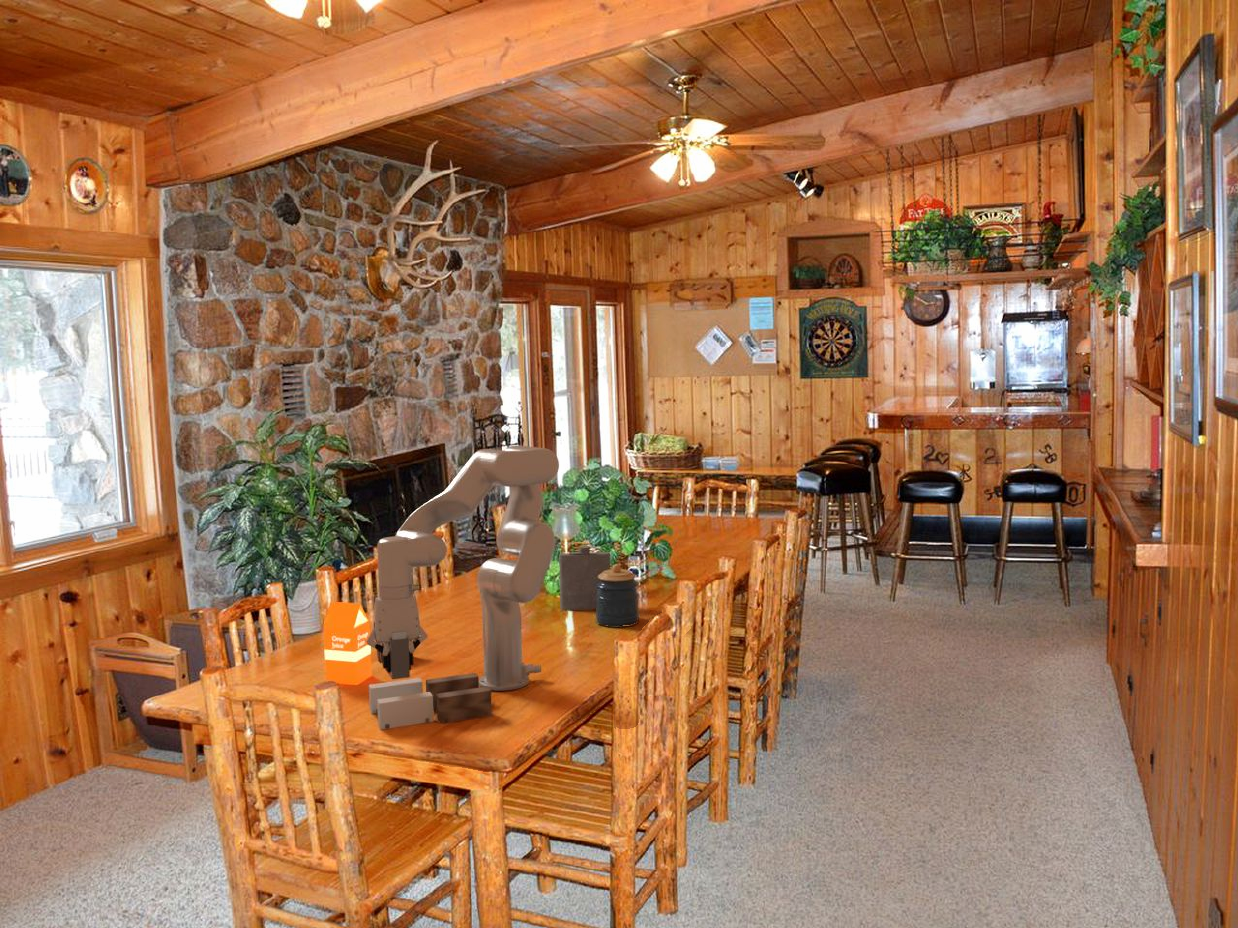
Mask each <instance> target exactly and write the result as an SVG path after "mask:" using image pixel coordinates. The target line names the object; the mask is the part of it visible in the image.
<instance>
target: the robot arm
mask: <svg viewBox="0 0 1238 928" xmlns="http://www.w3.org/2000/svg"><path fill="white" fill-rule="evenodd" d="M559 469H560V462H559V459H558V456H557V455H556V453H555V452H554V451H552V450H551V449H548V448H545V447H538V446H537V447H536V446H528V445H511V446H508V447H506V448H505V449H504V450H502V449H493V448H482V449H479V450H477V451H476V452H474V454H473V455H472V456H471V457H470V458H469V460H467V462H466V463H465V464H464V465H463V467H462V468H461V469H460V471H458V473H457V474H456V476H455V477H454V479H452V481H451V482H450V483H449V485H448V486H447V487H446V488H445V489H444V491H442V492H441V493H439V494H438V495H436V496H434V497H433V498H431V499H430V500H428V501H427V502H425V503H423V505H421V506H419V507H418V508H417V509H415V510H414V511H413V512H412V513H411V514H410V515H409V516H408V517H407V519H406V520H405V521H404V523H403V524H401V526H400V528H398V530H397V532H396V534H395V536H387V537H383V538H381V539H379V540H378V542H377V547H376V549H377V573H378V574H377V577H378V581H377V582H378V596H377V597H375V598H374V603H373V605H374V606H373V619H372V621H373V622H372V628H373V631H372V630H371V631H370V636H369V637H368V639H367V641H366V643H367V644H368V645H369V646H371V648H373V649H376V651H377V650H378V651H379V652H380V653H381V654H382V656H383V664H382V668H383V669H385V671H386V672H387V674H388V673H390V672H391V668H390V655H389V652H388V651H389V644H390V640H391V639H392V633H394V632H404V631H406V638H408V639H409V668H410V671H411V670H412V666H414V652H415V651H416V649H417V648H418V647H419V646H420V645H421V643H423V642H424V641H425V640H427V639H428V638H429V636H428V634H427V633H426V631H425V630H424V628H423V627H422V626H421V624H420V622H421V621H420V615H419V607H418V601H417V598H416V595H415V594H414V593H415V592H416V591H420V590H419V589H420V584H415V583H413V568H419V567H420V568H421V567H423V568H426V567H428V568H429V567H434V566H436V565H439V564H441V563H442V561H444V559H445V557H446V555H447V552H448V551H447V550H448V548H447V544H446V542H445V541H444V540H443V539H442V538H441V537H440V536H439V535H436V534H433V532H435V530H437V529H438V528H440V527H442V526H443V525H446V524H448V523H451V522H454V521H458V520H461V519H464V518H465V517H469V516H470V515H472V514H473V513H474V512H475V510H477V508H478V507H479V505H480V504H481V503H482V501H484V499H485V498H486V497H487V495H488V494H489V492H491V490H492V488H494V486H500V487H505V488H506V487H509V497H508V501H507V505H506V508H505V510H504V514H503V517H502V520H501V523H500V526H499V528H498V531H497V536H496V542H495V543H496V546H497V547H498V549H499V550H500V551H501V552H502V553H504V554H507V555H510V556H513V557H514V556H515V557H518V558H517V561H515V560H511V559H507V558H501V557H500V558H499V557H494V558H493V557H492V558H490V559H487V560H486V561H484V562H483V563H482V564H481V566H480V567H479V569H478V572H477V578H476V580H477V582H476V583H477V588H478V592H479V596H480V603H481V610H482V611H481V614H482V616H481V617H482V639H483V641H482V643H483V645H482V646H483V668H484V669H483V671H484V673H483V675H481V676H480V677H478V678H479V688H481V687H488V688H489V689H490V690H491V691H495V692H497V691H498V692H500V691H503V692H504V691H511V690H517V689H521V688H523V687H525V686H527V685H528V684H529V683H530V677H529V675H530V674H537V673H538V674H539V673H541V672H542V665H541V664H535V665H534V664H533V663H528V664H525V663H524V662H523V645H522V644H523V642H522V639H523V636H522V613H521V612H522V611H521V607H520V604H526V603H530V602H532V601H533V600H534V599H536V598H537V596H538V595H539V593H540V592H541V589H542V586H543V584H544V582H545V578H546V576H547V573H548V571H549V566H550V563H551V561H552V557H553V554H554V552H555V547H556V537H555V534H554V533H555V532H554V531H553V529H552V527H551V526H550V525H549V524H547V523H546V522H543V521H541V520H539V519H540V516H541V512H542V508H543V503H544V495H543V490H542V487H541V484H546V483H548V482H551V481H552V480H553V479H555V477H556V475H558V472H559ZM375 638H376V639H377V641H378V642H380V643H382V645H380V644H379V643H377V642H376V641H375Z"/></svg>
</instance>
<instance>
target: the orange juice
mask: <svg viewBox="0 0 1238 928" xmlns="http://www.w3.org/2000/svg"><path fill="white" fill-rule="evenodd" d="M370 627H371V626H370V620H369V619H368V617H367V615H366V612H365V611H364V609H363V607H362V605H361V603H360V602H359V603H357V602H342V601H339V602H338V601H329V605H328V609H327V613H326V616H325V620H324V623H323V641H324V643H323V644H324V650H323V651H324V662H325V663H324V664H325V681H326V683H327V681H334V682H336V683H335V684H341V685H351V686H353V685H355V686H358V685H360V684H361V683H363V682H365V681H366V680H367V679H369V678H371V677H372V676H373V675H372V674H373V673H372V671H373V670H372V647H371V646H369V645H368V644H367V643H366V641H367V639H368V637H369V636H370V634H371V630H370V629H371V628H370Z"/></svg>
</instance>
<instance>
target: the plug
mask: <svg viewBox="0 0 1238 928" xmlns="http://www.w3.org/2000/svg"><path fill="white" fill-rule="evenodd" d="M388 652H389V655H390V668H391V672H390V673H387V674H388V675H389V677H390V679H391V680H399V679H406V678H407V679H408V678H409V679H410V677H411V675H410V674H411V673H410V671H411V670H410V668H409V639H408V638H406V631H404V632H394V633H392V639H391V640H390V644H389V651H388Z"/></svg>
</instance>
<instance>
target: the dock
mask: <svg viewBox="0 0 1238 928" xmlns="http://www.w3.org/2000/svg"><path fill="white" fill-rule="evenodd" d="M368 696H369V697H368V698H369V712H370V713H371V714H372V715H373V714H376V715H377V726H378V728H379V729H380V730H386V729H393V728H399V727H400V728H401V727H408V726H413V725H419V724H425V723H427V724H428V723H433V722H435V720H434V719H435V717H434V716H435V715H434V708H433V695H432V694H431V693H430V692H426V691H425V692H424V688H423V680H422V679H421V678H420V677H418V678H417V677H416V678H409V679H408V678H407V679H402V680H394V681H388V682H379V683H373V684H368Z"/></svg>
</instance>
